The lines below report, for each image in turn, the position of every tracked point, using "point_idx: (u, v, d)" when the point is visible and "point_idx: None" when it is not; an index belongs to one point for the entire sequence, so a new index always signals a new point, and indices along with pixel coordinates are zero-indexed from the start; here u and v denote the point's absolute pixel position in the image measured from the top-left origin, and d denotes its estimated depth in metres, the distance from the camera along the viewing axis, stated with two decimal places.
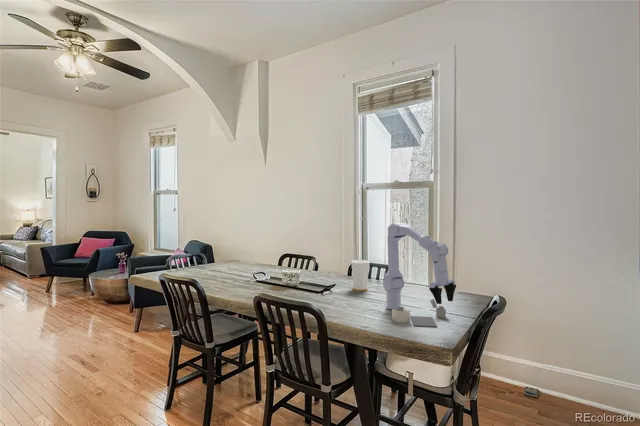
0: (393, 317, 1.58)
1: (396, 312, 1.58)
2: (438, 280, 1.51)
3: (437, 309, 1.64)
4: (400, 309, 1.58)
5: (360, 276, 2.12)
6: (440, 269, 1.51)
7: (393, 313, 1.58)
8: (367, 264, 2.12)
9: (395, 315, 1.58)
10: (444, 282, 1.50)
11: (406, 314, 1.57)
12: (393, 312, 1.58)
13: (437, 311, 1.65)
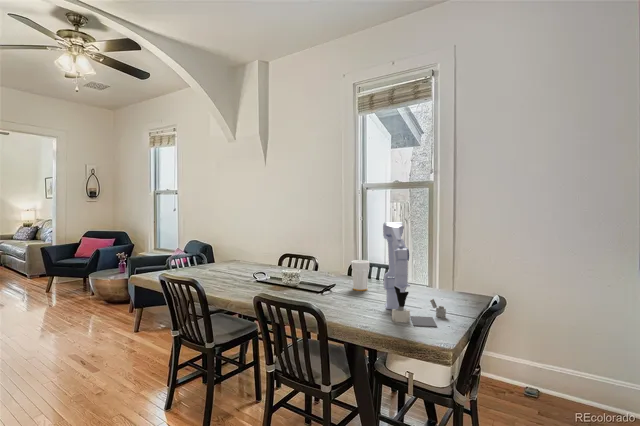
0: (393, 317, 1.58)
1: (396, 312, 1.58)
2: (402, 284, 1.56)
3: (437, 309, 1.64)
4: (400, 309, 1.58)
5: (360, 276, 2.12)
6: (396, 273, 1.57)
7: (393, 313, 1.58)
8: (367, 264, 2.12)
9: (395, 315, 1.58)
10: (407, 285, 1.56)
11: (406, 314, 1.57)
12: (393, 312, 1.58)
13: (437, 311, 1.64)
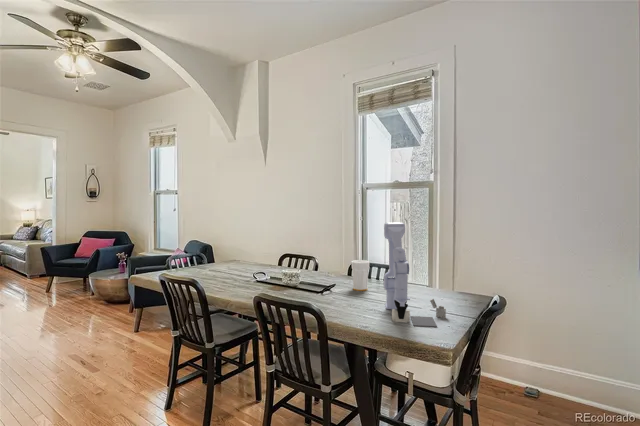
0: (393, 317, 1.58)
1: (396, 312, 1.58)
2: (402, 297, 1.56)
3: (437, 309, 1.64)
4: None
5: (360, 276, 2.12)
6: (396, 286, 1.57)
7: (393, 313, 1.58)
8: (367, 264, 2.12)
9: (395, 315, 1.58)
10: (407, 299, 1.57)
11: (406, 314, 1.57)
12: (393, 312, 1.58)
13: (437, 311, 1.64)
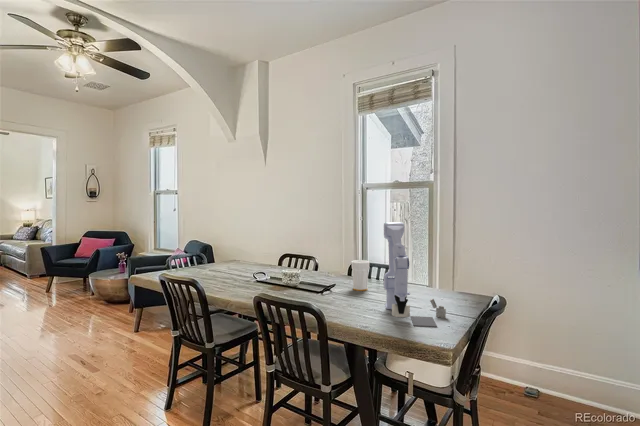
0: (393, 312, 1.58)
1: (396, 307, 1.58)
2: (402, 292, 1.56)
3: (437, 309, 1.64)
4: None
5: (360, 276, 2.12)
6: (396, 281, 1.57)
7: (393, 308, 1.58)
8: (367, 264, 2.12)
9: (395, 310, 1.58)
10: (407, 294, 1.57)
11: (406, 309, 1.57)
12: (393, 307, 1.58)
13: (437, 311, 1.64)
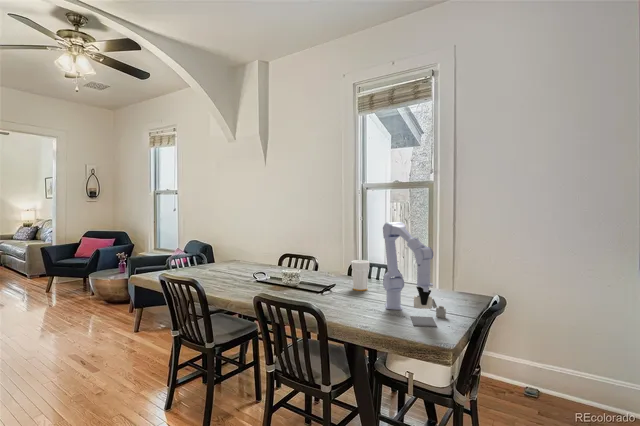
0: (415, 303, 1.57)
1: (418, 298, 1.56)
2: (425, 283, 1.54)
3: (437, 309, 1.64)
4: None
5: (360, 276, 2.12)
6: (422, 272, 1.54)
7: (415, 299, 1.57)
8: (367, 264, 2.12)
9: (417, 301, 1.56)
10: (430, 285, 1.55)
11: (428, 300, 1.55)
12: (415, 298, 1.57)
13: (437, 311, 1.64)
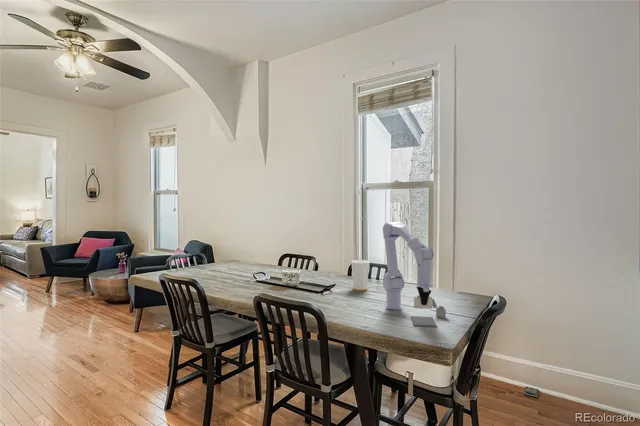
0: (415, 303, 1.57)
1: (418, 298, 1.56)
2: (425, 283, 1.54)
3: (437, 309, 1.64)
4: None
5: (360, 276, 2.12)
6: (422, 272, 1.54)
7: (415, 299, 1.57)
8: (367, 264, 2.12)
9: (417, 301, 1.56)
10: (430, 285, 1.55)
11: (428, 300, 1.56)
12: (415, 298, 1.57)
13: (437, 311, 1.64)
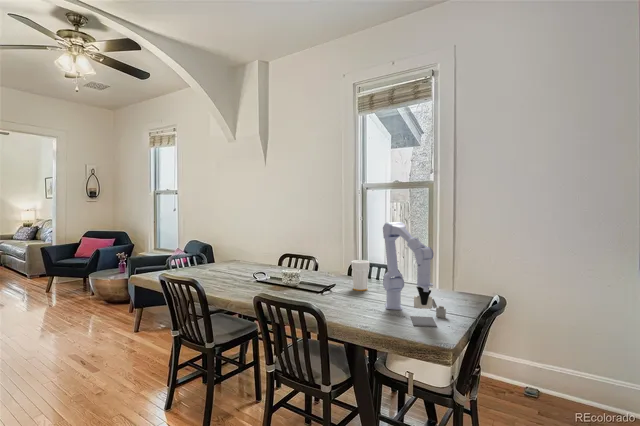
0: (415, 303, 1.57)
1: (418, 298, 1.56)
2: (425, 283, 1.54)
3: (437, 309, 1.64)
4: None
5: (360, 276, 2.12)
6: (422, 272, 1.54)
7: (415, 299, 1.57)
8: (367, 264, 2.12)
9: (417, 301, 1.56)
10: (430, 285, 1.55)
11: (428, 300, 1.56)
12: (415, 298, 1.57)
13: (437, 311, 1.64)
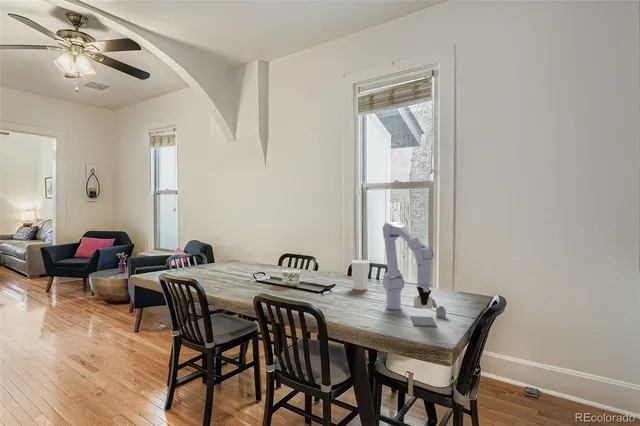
0: (415, 303, 1.57)
1: (418, 298, 1.56)
2: (425, 283, 1.54)
3: (437, 309, 1.64)
4: None
5: (360, 276, 2.12)
6: (422, 272, 1.54)
7: (415, 299, 1.57)
8: (367, 264, 2.12)
9: (417, 301, 1.56)
10: (430, 285, 1.55)
11: (428, 300, 1.56)
12: (415, 298, 1.57)
13: (437, 311, 1.64)
